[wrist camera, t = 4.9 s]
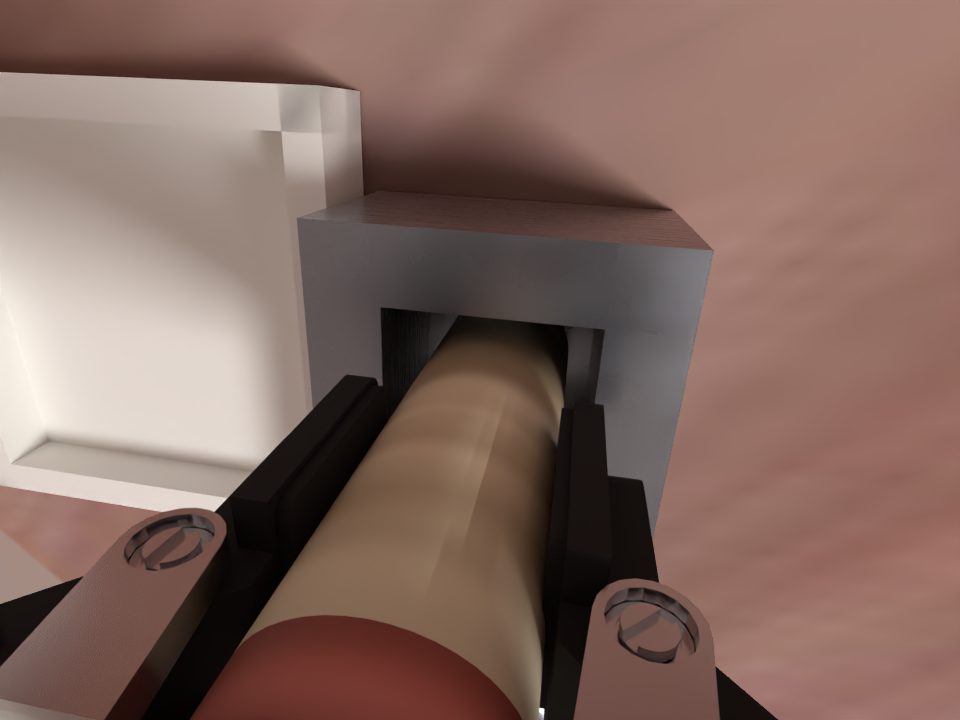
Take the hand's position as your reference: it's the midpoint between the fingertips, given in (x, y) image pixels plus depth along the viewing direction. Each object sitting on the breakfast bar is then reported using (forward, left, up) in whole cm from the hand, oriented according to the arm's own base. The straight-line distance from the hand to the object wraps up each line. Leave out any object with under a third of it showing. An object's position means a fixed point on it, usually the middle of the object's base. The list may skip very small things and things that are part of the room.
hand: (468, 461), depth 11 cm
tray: (0, -11, -7) cm, 13 cm away
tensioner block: (+5, 0, -7) cm, 8 cm away
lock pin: (0, 0, -6) cm, 6 cm away
